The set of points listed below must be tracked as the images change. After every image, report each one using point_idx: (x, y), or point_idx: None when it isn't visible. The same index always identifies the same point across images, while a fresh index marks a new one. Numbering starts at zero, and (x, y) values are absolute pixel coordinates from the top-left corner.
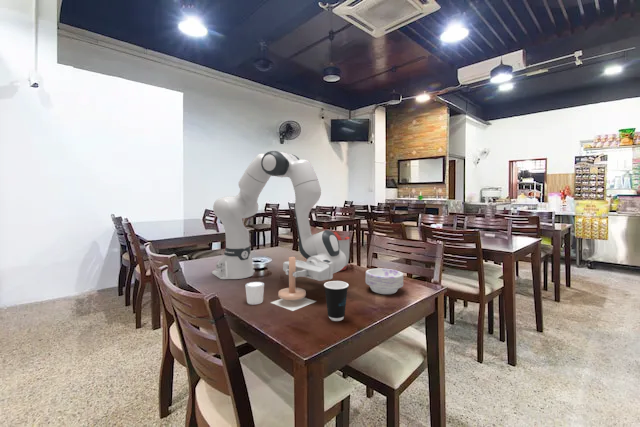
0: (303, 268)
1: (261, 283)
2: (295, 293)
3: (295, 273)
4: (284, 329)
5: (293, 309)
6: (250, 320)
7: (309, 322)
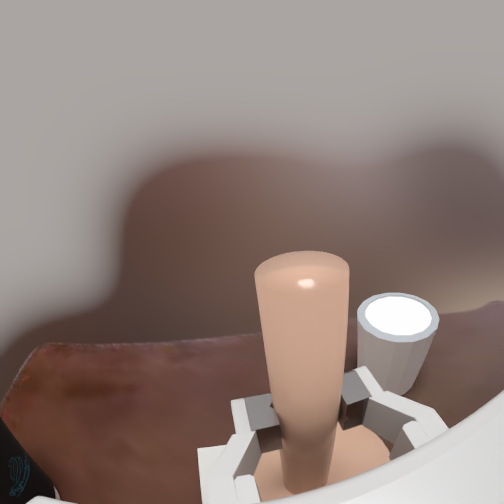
0: (273, 500)
1: (405, 334)
2: (265, 482)
3: (231, 401)
4: (125, 373)
5: (209, 459)
6: (241, 340)
7: (91, 434)
